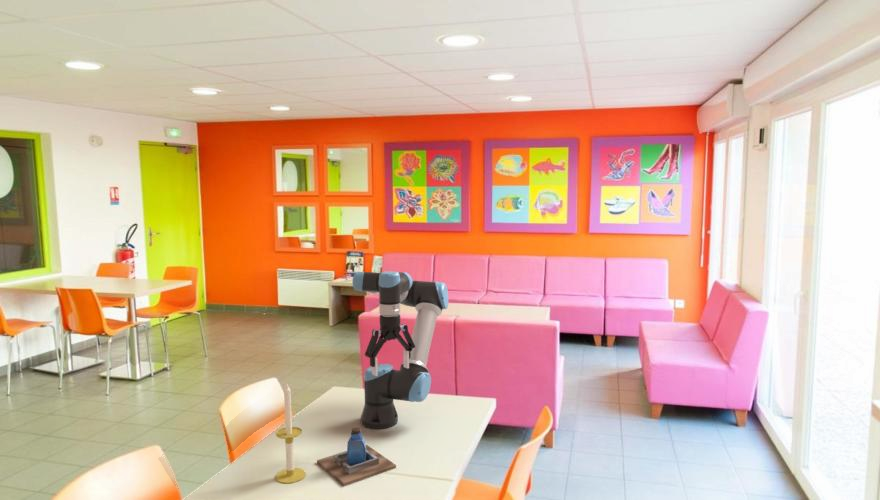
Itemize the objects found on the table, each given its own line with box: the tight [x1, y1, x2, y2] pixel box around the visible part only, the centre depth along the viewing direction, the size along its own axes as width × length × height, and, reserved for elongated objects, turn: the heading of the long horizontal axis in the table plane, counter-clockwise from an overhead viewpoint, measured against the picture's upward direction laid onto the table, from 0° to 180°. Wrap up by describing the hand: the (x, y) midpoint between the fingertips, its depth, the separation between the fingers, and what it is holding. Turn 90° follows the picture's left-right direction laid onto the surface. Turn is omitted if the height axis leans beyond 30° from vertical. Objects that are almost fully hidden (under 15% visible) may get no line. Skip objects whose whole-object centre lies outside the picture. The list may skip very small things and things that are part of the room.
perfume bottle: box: [346, 427, 367, 466], centre depth 204 cm, size 6×6×12 cm
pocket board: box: [316, 444, 397, 487], centre depth 204 cm, size 20×20×3 cm
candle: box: [274, 383, 307, 484], centre depth 195 cm, size 10×10×32 cm
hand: (390, 371), depth 216 cm, fingers open, 13 cm apart
